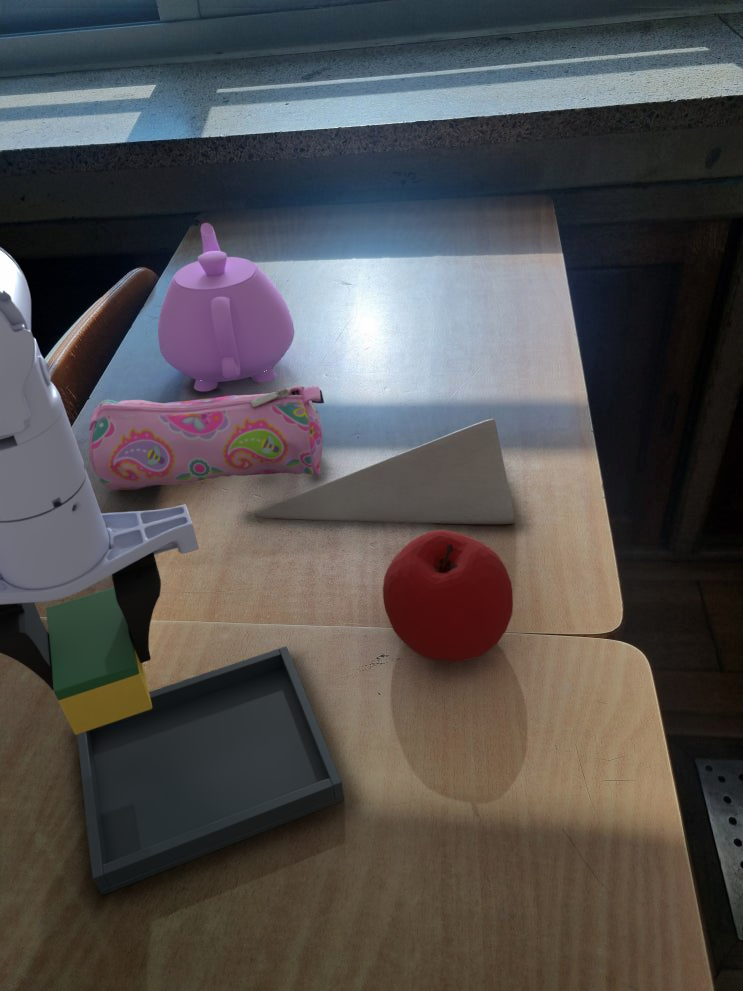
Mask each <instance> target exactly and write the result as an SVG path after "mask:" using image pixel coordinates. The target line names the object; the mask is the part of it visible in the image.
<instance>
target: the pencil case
mask: <svg viewBox="0 0 743 991" xmlns="http://www.w3.org/2000/svg"><path fill="white" fill-rule="evenodd" d="M324 403H325V401H324V396H323V391H322V390H321V389H320V386H319V385H308V386H304V385H300V384H298V385H295V386H292V387H289V388H282V389H279V390H277V392H276V391H274V392H273V391H272V392H270V393H258V394H256V393H255V394H241V395H240V394H239V395H235V394H233V395H223V396H219V397H218V396H217V397H211V398H210V397H209V398H198V399H192V400H191V399H190V400H184V401H170V402H164V403H163V402H156V401H151V400H146V399H129V400H127V399H125V400H124V399H123V400H118V401H116V400H113V399H103V400H102V401H100V402H99V403H98V406H96V407H95V408H94V409H93V411H92V414H91V417H90V419H89V420H90V421H89V425H88V431H90V437H89V442H88V450H89V451H88V452H89V454H88V455H89V460H90V463H91V466H92V469H93V471H94V473H95V474H96V476H97V477H98V479H99V481H100V482H101V484H102V486H104V487H105V488H106V489H108V490H113V491H134V490H139V489H142V488H143V489H144V488H147V487H148V488H149V487H153V486H163V485H164V486H165V485H166V486H167V485H187V484H188V485H189V484H194V483H197V482H201V481H206V480H211V479H212V480H213V479H217V478H222V477H233V476H236V477H237V476H239V477H240V476H241V477H243V476H264V475H265V476H266V475H277V474H293V475H303V474H305V475H308V476H311V477H315V476H317V477H318V476H320V474H321V463H322V462H321V461H322V456H323V455H322V454H323V444H324V440H323V438H324V436H323V426H322V421H321V417H320V414H319V412H318V410H317V408H316V407H315V405H314V404H324Z"/></svg>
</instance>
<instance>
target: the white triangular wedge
mask: <svg viewBox="0 0 743 991" xmlns="http://www.w3.org/2000/svg"><path fill="white" fill-rule="evenodd" d="M496 423H497V422H496V419H495V418H490V419H486V420H482V421H480V422H478V423H474V424H472V425H469V426H467V427H464V428H461V429H459V430H456V431H454V432H452V433H449V434H446V435H443V436H441V437H438V438H437V439H434V440H431V441H429V442H427V443H424V444H421V445H419V446H416V447H413V448H411V449H408V450H407V451H403V452H401V453H399V454H396V455H394V456H390V457H388V458H386V459H383V460H382V461H379V462H376V463H374V464H371V465H369V466H366V467H364V468H361V469H359V470H356V471H354V472H351V473H349V474H346V475H344V476H341V477H339V478H336V479H334V480H332V481H331V480H330V481H329V482H327V483H324V484H322V485H319V486H317V487H313V488H311V489H309V490H307V491H304V492H301V493H299V494H297V495H294V496H292V497H290V498H287V499H285V500H282V501H280V502H277V503H274V504H272V505H270V506H267V507H265V508H263V509H261V510H259V511H257V512H255V513H254V517H256V518H263V519H264V518H265V519H283V520H284V519H285V520H312V521H313V520H316V521H345V522H377V523H378V522H380V523H381V522H382V523H410V524H411V523H412V524H413V523H414V524H446V525H447V524H451V525H453V524H454V525H512V524H515V523H516V519H515V514H514V508H513V502H512V498H511V492H510V488H509V482H508V478H507V473H506V467H505V462H504V457H503V452H502V448H501V442H500V436H499V433H498V428H497V424H496Z"/></svg>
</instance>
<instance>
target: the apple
mask: <svg viewBox="0 0 743 991" xmlns="http://www.w3.org/2000/svg"><path fill="white" fill-rule="evenodd" d="M382 599H383V600H382V601H383V606H384V610H385V613H386V615H387V618H388V620H389V622H390V626H391V628H392V630H393V631H394V633H395V634H396V636H397V637H398V638H399V640H400V641H401V642H402V643H404V644H405V645H406V646H407V647H408V648H409V649H411V650H412V651H414V652H415V653H417V654H418V655H420V656H422V657H423V658H426V659H429V660H432V661H439V662H450V663H451V662H452V663H454V662H464V661H467V660H471V659H472V660H473V659H475V658H477V657H481V656H483V655H485V654H486V653H488V652H489V651H490V650H491V649H492V648H494V647H495V646H496V645H497V644H498V642H499V641H500V640H501V638H502V637H503V635H504V634H505V633H506V631H507V629H508V626H509V624H510V621H511V619H512V615H513V610H514V608H513V607H514V592H513V585H512V581H511V578H510V575H509V572H508V569H507V567H506V565H505V564H504V562H503V561H502V558H501V557H500V555H498V554H497V552H496V551H495V550H494V549H492V548H491V547H489V546H488V545H486V544H485V543H483V542H482V541H480V540H477V539H475V538H473V537H471V536H468V535H465V534H462V533H459V532H455V531H451V530H446V529H437V530H431V531H427V532H425V533H423V534H420V535H418V536H417V537H416V538H414V539H412V540H411V541H410V542H408V543H406V545H404V546H403V547H402V549H401V550H400V551H399V552H398V554H396V555H395V557H394V558H393V559H392V561H391V562H390V564H389V565H388V567H387V569H386V572H385V574H384V577H383V583H382Z"/></svg>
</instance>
